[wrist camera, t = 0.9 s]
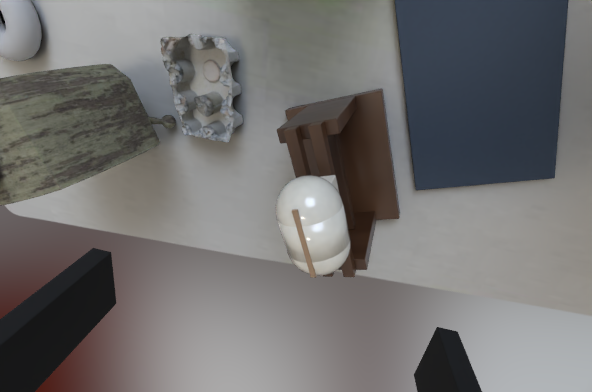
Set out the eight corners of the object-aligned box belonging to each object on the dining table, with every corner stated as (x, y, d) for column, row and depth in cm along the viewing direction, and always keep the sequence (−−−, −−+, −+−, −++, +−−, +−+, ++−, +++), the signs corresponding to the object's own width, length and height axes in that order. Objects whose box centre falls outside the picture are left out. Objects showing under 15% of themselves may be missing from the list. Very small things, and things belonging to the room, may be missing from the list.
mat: (571, -89, 22) (575, -92, 21) (552, 175, 30) (554, 178, 29) (391, -27, 27) (391, -28, 26) (415, 188, 34) (415, 190, 34)
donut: (59, 19, 39) (-8, -53, 37) (31, 19, 36) (-44, -59, 34) (36, 75, 44) (-24, 14, 42) (10, 79, 41) (-56, 14, 39)
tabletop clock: (113, 151, 46) (-140, 258, 25) (79, 88, 42) (-247, 149, 21) (190, 130, 40) (-55, 245, 19) (158, 54, 37) (-183, 94, 16)
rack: (382, 88, 31) (369, 115, 22) (399, 213, 36) (395, 277, 27) (288, 108, 35) (243, 138, 25) (316, 218, 40) (288, 276, 31)
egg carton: (181, 31, 35) (156, 31, 31) (244, 38, 33) (225, 39, 29) (190, 127, 40) (169, 136, 36) (245, 137, 38) (228, 148, 34)
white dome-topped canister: (342, 161, 24) (326, 190, 19) (360, 249, 27) (350, 291, 23) (281, 169, 26) (255, 197, 21) (305, 250, 29) (286, 289, 25)
